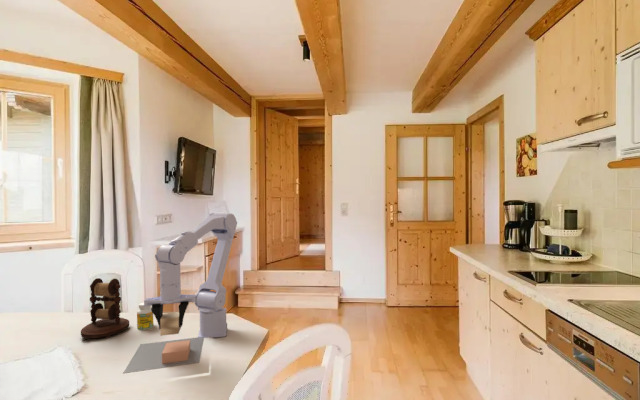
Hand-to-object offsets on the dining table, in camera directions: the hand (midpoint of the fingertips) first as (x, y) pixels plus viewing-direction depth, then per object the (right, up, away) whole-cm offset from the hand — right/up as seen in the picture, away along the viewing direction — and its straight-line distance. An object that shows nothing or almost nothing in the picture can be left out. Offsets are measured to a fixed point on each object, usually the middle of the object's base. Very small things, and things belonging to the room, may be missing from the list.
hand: (171, 326), depth 99 cm
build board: (-2, -9, +1) cm, 10 cm away
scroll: (-32, -10, +18) cm, 38 cm away
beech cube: (0, -1, 0) cm, 1 cm away
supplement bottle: (-20, -9, +21) cm, 30 cm away
